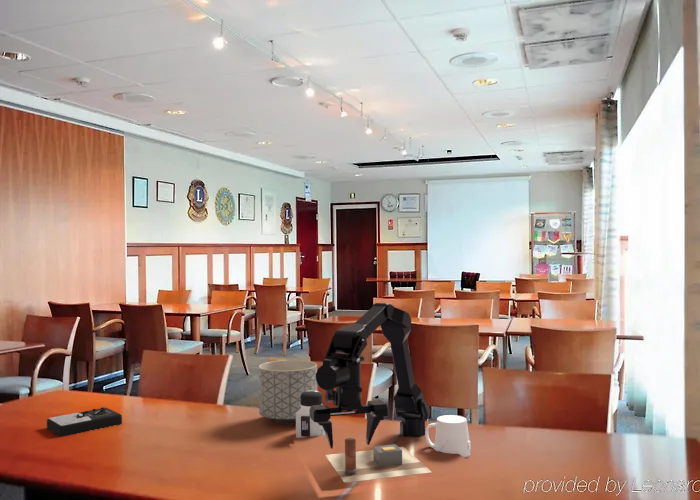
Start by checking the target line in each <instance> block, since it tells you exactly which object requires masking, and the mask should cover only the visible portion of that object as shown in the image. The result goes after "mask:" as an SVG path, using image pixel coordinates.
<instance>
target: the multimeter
mask: <svg viewBox="0 0 700 500" xmlns="http://www.w3.org/2000/svg"><path fill="white" fill-rule="evenodd" d="M122 416H123V415H122V414H121V413H119V412H116V411H114V410H112V409H111V408H108V407H104V406H103V407H100V408H92V409H91V410H85V411H79V412H75V413H69V414H63V415H58V416H53V417H48V418H47V420H46V429H47V430H49V431H50V432H51V433H53V434H54V435H56V436H58V438H59V437H60V438H63V437H68V436H73V435H77V433H78V434H82V433H86V431H87V432H91V431H90V430H92V431H96V430H95V429H97V430H101V429H100V428H102V429H105V427H106V428H110V427H109V426H111V427H115V426H114V425H116V426H120V424H121V425H122V424H123V417H122ZM81 432H82V433H81Z"/></svg>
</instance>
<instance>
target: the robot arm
mask: <svg viewBox="0 0 700 500" xmlns="http://www.w3.org/2000/svg"><path fill="white" fill-rule="evenodd" d="M378 328H381V332H382V335H383V336H384V337H385V338H386V340H387V341H388V342H389V343H390V349H391V355H392V359H393V365H394V370H395V375H396V380H397V381H396V382H397V387H398V388H397V390H396V392H395V394H394V396H393V402H394V408H395V413H396V417H398V418H401V421H400V422H399V433H400V434H399V435H401V437H406V438H407V437H410V438H417V437H419V438H420V437H422V436H425V431H426V420H429V418H430V415H431V409H430V407H429V404H428V403H427V402H426V400H425V398H424V393H423V391H422V390H421V387H419V386H418V385H417V384H416V382H415V375H414V369H413V364H412V358H411V352H410V347H409V341H408V337H409V335H410V333H411V331H412V317H411V316H410V313H409V312H407V311H405V310H403V309H400V308H398V307H395V306H394V305H392V304H391V303H389V302H375V303H372V305H371V308H369V309H368V310H367V311H366V312H365V313H364V314H363V315H361V316H360V318H358V319H357V320H356V321H355V322H353V324H349V325H346V326H342V327H341V328H339V329H336V330H335V332H334V333H333V336H332V337H331V341H330V343H329V346H328V349H327V351H326V354H325V357H324V359H323V360H322V365H320V366H319V367H317V373H316V382H317V386H318V387H319V388H321V389H322V390H324V391H325V392H324V393H325V394H324V395H325V396H324V397H325V401H326V402H332V405H333V406H334V407H330V408H329V406H328V405H326V404H323V403H322V405H312V406H311V407H310V418H311V419H312V420H313V421H314V422H317V423H318V424H319V425H321V426H322V427H323V429H324V431H325V436H326V439H327V442H328V445H329V448H330V449H334V448H333V447H334V435H333V423H332V421H331V420H330V419H331V417H336V416H337V417H338V416H348V415H350V416H351V415H360V414H366V432H365V433H366V435H365V436H366V437H365V441H366V445H367V446H370V444H371V441H372V440H373V436H374V434H375V432H376V430H377V428H378V427H379V424H380V422H381V421H384V420H385V417H389V416H390V406H389V405H388V404H387V403H386V402H385V401H383V400H382V399H375V400H374V399H373V400H368V401H367V403H366V404H364V405H363V404H362V392H363V388H362V386H361V385H362V383H361V381H362V378H361V377H362V376H361V375H362V373H361V371H362V370H361V367H362V364H361V362H364V361H365V357H364V356H363V355H362V353H363V351H364V350H365V349H366V347H367V346H368V338H369V337H370V336H371V335H372V334H373V333H374V332H375V331H376V330H378Z"/></svg>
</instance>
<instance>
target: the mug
mask: <svg viewBox="0 0 700 500" xmlns="http://www.w3.org/2000/svg"><path fill="white" fill-rule="evenodd" d="M468 426H469V425H468V421H467V418H466V417H464V416H462V415H456V414H446V415H440V416H438V417H437V418H436V422H431V423H429V424H428V425H427V426H426V427H425V435H424V436H425V441H426V443H427V445H428V446H429V447H430V448H432V449H434V450H435V451H436V452H441V453H444V454H453V455H454V454H455V455H456V454H458V455H460V456H461V458H462V457H463V458H469V457H470V456H471V440H470V434H469V427H468ZM431 428H435V435H434V442H432V440H431V439H430V436H429V431H430V429H431Z"/></svg>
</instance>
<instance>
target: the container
mask: <svg viewBox="0 0 700 500" xmlns="http://www.w3.org/2000/svg"><path fill="white" fill-rule="evenodd" d="M300 402H301V409H299V410H298V411H297V412H296V423H295V438H296V439H299V438H310V437H311V438H312V437H321V436H326V434H325V431H324V429H323V427H322V426H321V425H319V424H318V423H317V422H314V421H313V420H312V419H311V418H310V407H311V406H312V405H323V394H322V392H320V391H318V390H317V391H305V392H303V393H301V395H300Z"/></svg>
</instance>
